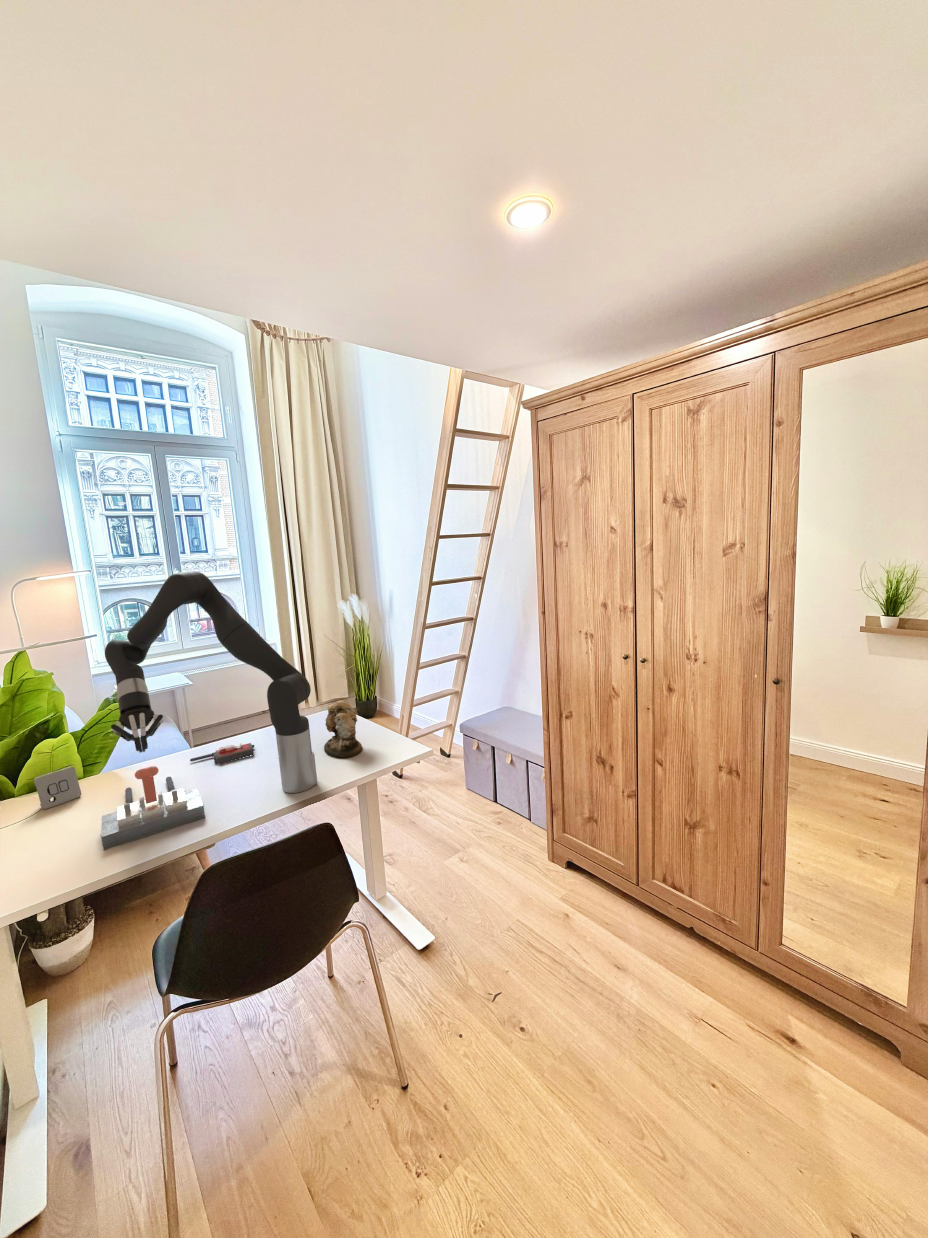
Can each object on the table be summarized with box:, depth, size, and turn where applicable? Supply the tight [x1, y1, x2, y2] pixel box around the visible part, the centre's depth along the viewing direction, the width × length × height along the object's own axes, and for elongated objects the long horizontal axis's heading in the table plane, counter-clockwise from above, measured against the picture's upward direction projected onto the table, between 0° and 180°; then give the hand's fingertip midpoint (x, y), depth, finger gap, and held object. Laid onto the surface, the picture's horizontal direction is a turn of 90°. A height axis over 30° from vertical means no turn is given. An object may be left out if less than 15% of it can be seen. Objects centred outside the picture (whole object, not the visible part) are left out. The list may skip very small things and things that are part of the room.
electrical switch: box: [33, 766, 82, 810], centre depth 145 cm, size 9×5×9 cm, turn 141°
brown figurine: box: [323, 700, 363, 759], centre depth 171 cm, size 18×12×17 cm, turn 38°
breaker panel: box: [100, 788, 206, 851], centre depth 130 cm, size 22×12×8 cm, turn 125°
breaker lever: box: [134, 765, 160, 804], centre depth 126 cm, size 5×2×12 cm
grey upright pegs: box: [125, 776, 175, 804], centre depth 144 cm, size 13×20×3 cm, turn 35°
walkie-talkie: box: [189, 742, 255, 765], centre depth 169 cm, size 9×4×20 cm
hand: (142, 750), depth 137 cm, fingers closed
